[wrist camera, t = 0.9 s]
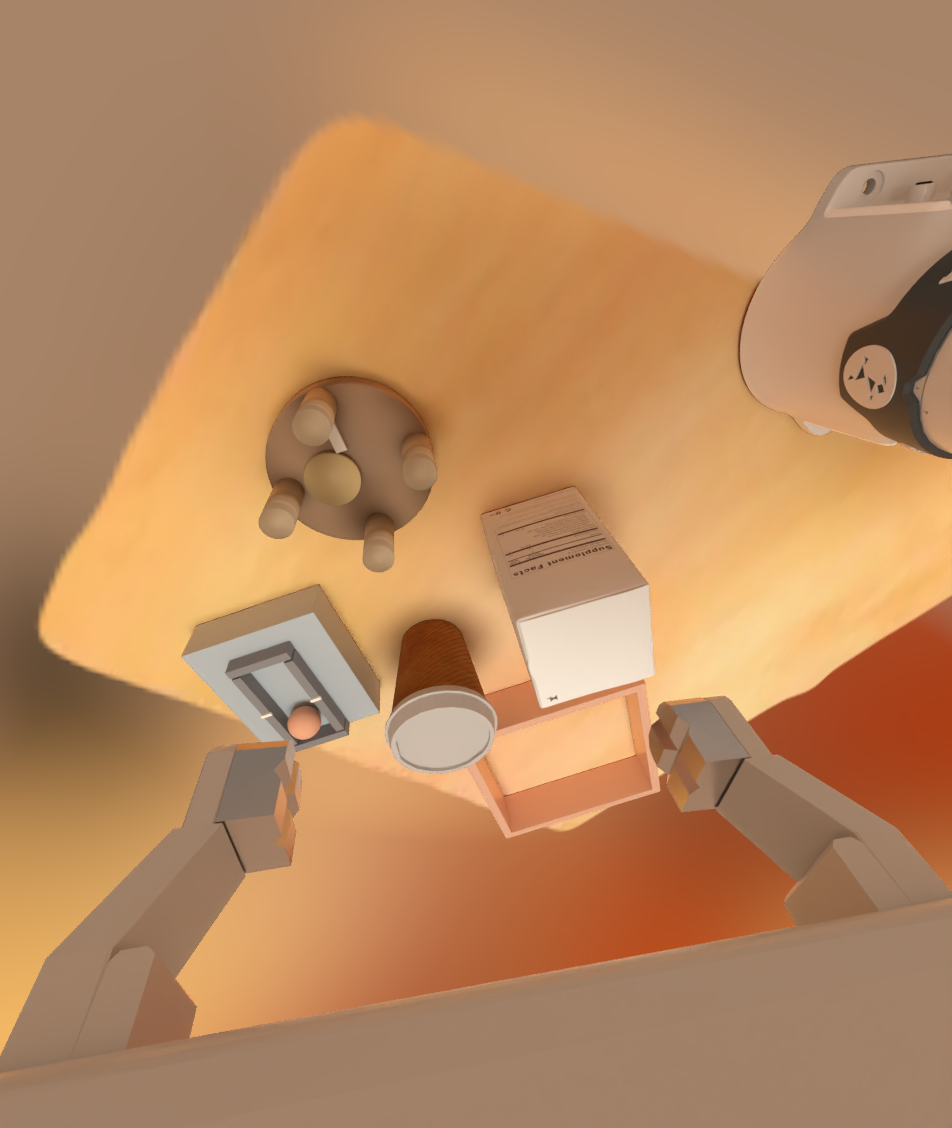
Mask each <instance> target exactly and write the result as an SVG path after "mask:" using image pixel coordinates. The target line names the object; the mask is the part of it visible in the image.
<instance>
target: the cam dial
mask: <svg viewBox="0 0 952 1128" xmlns="http://www.w3.org/2000/svg"><path fill="white" fill-rule="evenodd" d="M265 457H266V468H267V473H268V477H269V480H270V483H271V486H272V488H273V490H272V492H271V494H270V496H269V498H268V500H267V503H266V505H265V507H264V509H263V511H262V514H261V516H260V518H259V527H260V529H261V530H262V532H263V533H264V534H266V535H267V536H269V537H271V538H275V539H283V538H286V537H288V536H290V535H291V534H292V532H293V530H294V527H295V524H296V521H297V519H298V520H299V521H300V522H302V523H303V524H305V525H306V526H308V527H310V528H311V529H313V530H315V531H317V532H320V533H322V534H325V535H328V536H331V537H335V538H340V539H347V540H364V548H363V563H364V565H365V567H366V568H367V569H369V570H371V571H373V572H384V571H387V570H388V569H390V568H391V567H392V565H393V563H394V531H396V530H398V529H399V528H401V527H403V526H404V525H405V524H407V523H408V522H409V521H410V520H412V519H413V518H414V517H415V516H416V515H417V513H418V512H419V511H420V510H421V508H422V507H423V505H424V504H425V502H426V500H427V498H428V496H429V493H430V491H431V487H432V486H433V485H434V483H435V482H436V479H437V469H436V464H435V459H434V454H433V450H432V445H431V442H430V439H429V436H428V432H427V430H426V428H425V425H424V423H423V421H422V420H421V418H420V416H419V415H418V413H417V412H416V411H415V410H414V408H413V407H412V406H411V405H410V404H409V403H408V402H407V401H406V400H405V399H404V398H403V397H402V396H400V395H399V394H398V393H396V392H395V391H393V390H392V389H390V388H388V387H386V386H384V385H382V384H380V383H377V382H375V381H371V380H368V379H364V378H357V377H334V378H328V379H324V380H321V381H318V382H315V383H313V384H311V385H309V386H307V387H305V388H304V389H302V390H301V391H299V392H298V393H297V394H296V395H295V396H293V397H292V398H291V399H290V401H289V402H288V403H287V404H286V405H285V407H284V408H283V410H282V411H281V413H280V415H279V416H278V418H277V420H276V421H275V423H274V425H273V426H272V429H271V431H270V434H269V437H268V441H267V445H266V456H265Z"/></svg>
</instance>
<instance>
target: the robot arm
mask: <svg viewBox="0 0 952 1128" xmlns="http://www.w3.org/2000/svg"><path fill="white" fill-rule="evenodd" d="M866 181H867V187H866V190H865V191H864V192H863V186H864V184H865V183H866ZM740 362H741V369H742V373H743V377H744V380H745V382H746V384H747V387H748V388H749V390H750V392H751V393H752V394H753V396H754V397H755V398H756V399H757V400H758V401H759V402H761V403H762V404H763V405H765V406H767V407H769V408H771V409H773V410H776V411H779V412H782V413H786V414H788V415H790V416H792V417H793V418H794V420H795V421H796V422H797V424H798V425H799V426H800V427H801V428H802V430H804V431H805V432H807V433H810V434H813V435H816V436H821V435H824V434H827V433H829V432H831V431H836V432H839V433H842V434H845V435H849V436H852V437H855V438H859V439H862V440H865V441H869V442H872V443H876V444H879V445H883V446H894V445H896V444H897V443H898V442H899V443H901V445H902V446H905V447H907V448H909V449H912V450H914V451H917V452H920V453H923V452H924V453H927V454H932V455H935V456H937V457H942V458H947V459H952V154H946V155H938V156H930V157H921V158H912V159H904V160H895V161H886V162H877V163H869V164H861V165H852V166H848V167H846V168H844V169H842V170H841V171H840V172H839V173H837V174H836V176H835V177H834V178H833V179H832V181H831V182H830V184H829V185H828V187H827V188H826V190H825V192H824V194H823V195H822V197H821V199H820V201H819V203H818V205H817V207H816V208H815V210H814V212H813V214H812V216H811V218H810V220H809V221H808V223H807V224H806V225H805V227H804V228H803V229H802V230H801V231H800V233H799V234H798V235H797V236H796V237H795V238H794V239H793V240H792V241H791V242H790V243H789V245H787V247H786V248H785V249H784V250H783V251H782V252H781V254H780V255H779V256H778V257H777V258H776V260H775V261H774V262H773V264H772V265H771V267H770V268H769V269H768V271H767V273H766V274H765V276H764V277H763V279H762V280H761V282H760V284H759V286H758V288H757V290H756V292H755V294H754V296H753V298H752V301H751V303H750V305H749V308H748V311H747V314H746V317H745V320H744V325H743V329H742V334H741V342H740ZM656 713H657V715H658V717H659V720H657V721H656V722H655V723H654V724H653V725H651V728H650V732H649V735H648V737H649V748H650V751H651V754H652V757H653V759H654V761H655V763H656V765H657V767H659V768H660V769H661V770H663V771H664V772H665V773H667V774H668V779H667V784H666V785H667V786H668V788H669V790H670V792H671V794H672V796H673V798H674V800H675V801H676V803H677V805H678V807H679V809H680V811H681V812H687V811H695V810H705V809H714V808H717V810H716V811H717V812H719V813H720V814H721V815H722V816H723V817H724V818H725V819H726V820H728V821H729V822H730V823H731V824H732V825H733V826H734V827H735V828H737V829H738V830H739V831H740V832H741V833H742V834H744V836H746V837H747V838H748V839H749V840H750V841H751V842H752V843H754V844H755V845H756V846H757V847H758V848H759V849H760V850H761V851H763V852H764V853H765V854H766V855H767V856H768V857H770V858H771V859H772V860H773V861H774V862H775V863H776V864H777V865H778V866H780V867H781V868H782V869H783V870H784V871H785V872H786V873H788V874H789V875H790V876H791V877H792V878H793V879H794V880H795V881H797V884H796V885H795V886H794V887H793V888H792V889H791V891H790V892H789V893H788V894H787V895H786V897H785V901H784V904H785V906H786V908H787V910H788V911H789V913H790V915H791V916H792V918H793V920H794V922H795V923H796V925H797V926H795V927H790V928H785V929H779V930H774V931H768V932H763V933H757V934H752V935H747V936H741V937H736V938H731V939H725V940H719V941H714V942H709V943H703V944H698V945H692V946H687V947H681V948H676V949H671V950H666V951H660V952H655V953H649V954H643V955H638V956H632V957H627V958H622V959H616V960H611V961H605V962H600V963H594V964H589V965H584V966H578V967H573V968H567V969H562V970H557V971H551V972H546V973H540V974H535V975H529V976H524V977H518V978H513V979H508V980H502V981H497V982H491V983H486V984H480V985H475V986H470V987H464V988H458V989H453V990H448V991H442V992H437V993H432V994H426V995H420V996H415V997H410V998H404V999H399V1000H393V1001H388V1002H383V1003H377V1004H372V1005H366V1006H361V1007H355V1008H350V1009H344V1010H339V1011H334V1012H329V1013H323V1014H317V1015H312V1016H307V1017H301V1018H296V1019H290V1020H285V1021H279V1022H274V1023H268V1024H263V1025H257V1026H252V1027H247V1028H241V1029H236V1030H231V1031H226V1032H219V1033H214V1034H209V1035H204V1036H198V1037H192V1038H190V1034H191V1030H192V1025H193V1021H194V1017H195V1012H196V1008H197V1007H196V1005H195V1003H194V1002H193V1000H192V999H191V997H190V996H189V995H188V994H187V992H186V991H185V990H184V989H183V988H182V986H181V985H180V984H179V982H178V981H177V980H176V979H175V978H176V977H177V975H178V974H179V972H180V971H181V969H182V968H183V966H184V965H185V964H186V962H187V961H188V959H189V958H190V956H191V955H192V953H193V952H194V950H195V949H196V948H197V946H198V945H199V943H200V942H201V940H202V939H203V937H204V936H205V934H206V933H207V932H208V930H209V929H210V927H211V926H212V924H213V923H214V921H215V920H216V919H217V917H218V916H219V914H220V913H221V911H222V910H223V908H224V907H225V905H226V904H227V903H228V901H229V900H230V898H231V897H232V895H233V894H234V892H235V891H236V889H237V888H238V887H239V885H240V884H241V882H242V881H243V879H244V878H245V873H251V872H257V871H262V870H269V869H275V868H281V867H287V866H291V862H292V855H293V849H294V842H295V836H296V829H295V826H294V823H293V819H292V818H293V817H294V816H295V815H296V813H297V812H298V811H299V808H300V801H301V785H302V779H301V770H300V766H299V763H298V762H296V761H295V760H294V756H295V746H294V743H293V740H284V741H271V742H258V743H246V744H232V745H222V746H213V747H212V748H211V750H210V751H209V752H208V754H207V757H206V759H205V762H204V765H203V767H202V770H201V774H200V776H199V779H198V782H197V785H196V788H195V791H194V794H193V797H192V799H191V803H190V806H189V808H188V811H187V814H186V817H185V820H184V823H183V826H182V827H181V828H175V829H173V830H172V831H171V832H170V833H169V834H168V835H167V836H166V837H165V838H164V839H163V840H162V841H161V842H160V843H159V844H158V845H157V846H156V847H155V848H154V849H153V850H152V851H151V852H150V853H149V854H148V855H147V856H146V857H145V858H144V859H143V860H142V861H141V862H140V863H139V864H138V866H137V867H135V869H133V871H132V872H131V873H130V874H129V875H128V876H127V877H126V878H125V879H124V880H123V881H122V882H121V883H120V884H119V885H118V886H117V887H116V888H115V889H114V890H113V891H112V892H111V893H110V894H109V895H108V896H107V897H106V898H105V899H104V900H103V901H102V902H101V903H100V904H99V905H98V906H97V907H96V908H95V909H94V910H93V911H92V912H91V913H90V914H89V915H88V916H87V918H86V919H84V921H83V922H82V923H81V924H80V925H79V926H78V927H77V928H76V929H75V930H74V931H73V932H72V933H71V934H70V935H69V936H68V937H67V938H66V939H65V940H64V941H63V942H62V943H61V944H60V945H59V946H58V947H57V948H56V949H55V950H54V951H53V952H52V953H51V954H50V955H49V957H47V958H46V960H45V962H44V964H43V966H42V969H41V971H40V973H39V975H38V977H37V979H36V981H35V983H34V985H33V988H32V990H31V992H30V994H29V996H28V998H27V1000H26V1002H25V1005H24V1007H23V1009H22V1011H21V1013H20V1015H19V1018H18V1019H17V1022H16V1024H15V1026H14V1028H13V1030H12V1032H11V1034H10V1036H9V1039H8V1041H7V1043H6V1045H5V1047H4V1049H3V1051H2V1053H1V1056H0V1128H952V891H951V890H950V889H949V888H948V887H947V886H946V884H945V883H944V882H943V881H942V880H941V879H940V877H938V875H937V874H936V873H935V872H934V871H933V869H932V868H931V867H930V866H929V865H928V864H927V863H926V861H925V860H924V859H923V858H922V857H921V856H920V854H919V853H918V852H917V851H916V850H915V849H914V848H913V846H912V845H911V844H910V843H909V842H908V841H907V839H906V838H905V837H904V836H903V835H902V834H901V833H900V831H899V830H898V829H897V828H896V827H894V826H892V825H891V824H889V823H888V822H886V821H884V820H883V819H881V818H880V817H878V816H876V815H875V814H873V813H871V812H870V811H868V810H867V809H865V808H863V807H862V806H860V805H859V804H857V803H855V802H854V801H852V800H850V799H849V798H847V797H846V796H844V795H842V794H841V793H839V792H838V791H836V790H834V789H833V788H831V787H830V786H828V785H826V784H825V783H823V782H822V781H820V780H818V779H817V778H815V777H814V776H812V775H810V774H809V773H807V772H805V771H804V770H802V769H801V768H799V767H797V766H796V765H794V764H793V763H791V762H789V761H788V760H786V759H784V758H783V757H781V756H780V755H772V754H771V753H770V751H769V750H768V749H767V747H766V746H765V745H764V743H763V742H762V741H761V740H760V738H759V737H758V736H757V734H756V733H755V732H754V730H753V729H752V728H751V726H750V725H749V724H748V722H747V721H746V720H745V718H744V717H743V716H742V714H741V713H740V712H739V710H738V709H737V708H736V706H735V705H734V704H733V703H732V701H731V700H730V699H729V698H727V697H726V696H716V697H707V698H693V699H684V700H675V701H667V702H663V703H661V704H660V705H659V707H658V709H657V712H656Z"/></svg>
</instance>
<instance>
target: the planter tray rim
mask: <svg viewBox="0 0 952 1128" xmlns="http://www.w3.org/2000/svg"><path fill="white" fill-rule="evenodd" d="M624 696H626V702H627V708H628V713H629V719H630V724H631V730H632V735H633V741H634V746H635V752H636V756H633V757H630V758H626V759H623V760H620V761H617V762H614V763H610V764H607V765H604V766H601V767H598V768H594V769H591V770H588V771H585V772H582V773H578V774H575V775H572V776H569V777H566V778H562V779H559V780H556V781H553V782H550V783H546V784H543V785H540V786H537V787H534V788H531V789H527V790H524V791H521V792H518V793H515V794H511V795H508V796H505V797H504V795H503V793H502V791H501V789H500V787H499V785H498V783H497V781H496V779H495V777H494V775H493V773H492V771H491V769H490V767H489V765H488V763H487V761H486V759H485V757H482V758H481V759H480V760H479V761H477V762H476V763H474V764H472V765H470V766H468V767H467V768H468V770H469V772H470V773H471V775H472V777H473V779H474V781H475V783H476V784H477V786H478V788H479V790H480V792H481V793H482V795H483V797H484V799H485V801H486V803H487V804H488V806H489V808H490V810H491V812H492V813H493V815H494V817H495V819H496V821H497V823H498V824H499V826H500V828H501V830H502V832H503V834H504V835H505V837H506V838H510V837H513V836H516V835H520V834H523V833H526V832H529V831H532V830H536V829H539V828H542V827H546V826H549V825H552V824H555V823H558V822H562V821H565V820H568V819H571V818H575V817H578V816H581V815H584V814H588V813H591V812H594V811H597V810H601V809H604V808H607V807H610V806H614V805H617V804H620V803H623V802H626V801H630V800H633V799H636V798H639V797H643V796H646V795H649V794H652V793H656V792H659V791H660V785H659V778H658V770H657V765H656V763H655V761H654V759H653V757H652V754H651V751H650V748H649V737H648V735H649V732H650V728H651V720H650V713H649V706H648V699H647V691H646V684H645V682H644V680H643V679H642V680H639V681H636V682H633V683H629V684H625V685H621V686H618V687H614V688H610V689H606V690H602V691H599V692H595V693H592V694H588V695H585V696H582V697H578V698H575V699H571V700H568V701H565V702H562V703H558V704H555V705H552V706H549V707H546V708H541V707H540V705H539V703H538V700H537V697H536V694H535V691H534V688H533V685H532V682H531V681H528V682H525V683H522V684H519V685H516V686H513V687H510V688H507V689H503V690H500V691H497V692H494V693H491V694H488V695H485V698H486V699H487V700H488V702H489V703H490V704H491V705H492V707H493V709H494V710H495V712H496V715H497V722H498V724H497V729H496V732H495V736H494V738H495V737H498V736H501V735H504V734H507V733H511V732H514V731H517V730H520V729H523V728H526V727H529V726H533V725H536V724H539V723H542V722H545V721H548V720H551V719H555V718H558V717H561V716H564V715H567V714H570V713H573V712H577V711H580V710H583V709H586V708H589V707H592V706H595V705H599V704H602V703H605V702H608V701H611V700H614V699H617V698H620V697H624Z"/></svg>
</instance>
